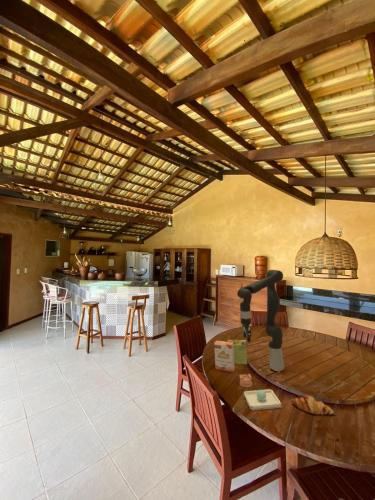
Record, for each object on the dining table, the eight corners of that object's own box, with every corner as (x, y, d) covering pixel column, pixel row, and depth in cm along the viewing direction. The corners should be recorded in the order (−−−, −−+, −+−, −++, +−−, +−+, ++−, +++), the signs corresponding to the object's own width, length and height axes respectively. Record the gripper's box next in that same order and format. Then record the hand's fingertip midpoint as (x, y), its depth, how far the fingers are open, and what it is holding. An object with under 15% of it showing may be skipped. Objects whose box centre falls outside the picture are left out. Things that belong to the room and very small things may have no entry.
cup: (250, 379, 161) (249, 372, 161) (254, 386, 153) (253, 378, 153) (238, 380, 161) (237, 373, 161) (241, 387, 153) (241, 379, 153)
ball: (264, 396, 141) (263, 387, 141) (267, 402, 136) (267, 392, 136) (255, 397, 141) (255, 388, 141) (258, 403, 135) (258, 393, 135)
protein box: (247, 364, 183) (246, 345, 184) (228, 363, 187) (226, 344, 187) (246, 358, 194) (245, 339, 194) (228, 357, 197) (227, 339, 197)
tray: (271, 392, 146) (271, 389, 146) (281, 407, 132) (281, 403, 132) (243, 395, 145) (243, 391, 145) (250, 410, 131) (250, 406, 131)
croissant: (333, 417, 127) (332, 401, 130) (334, 420, 119) (333, 402, 122) (291, 406, 137) (291, 391, 140) (290, 408, 129) (290, 392, 132)
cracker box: (215, 369, 178) (213, 342, 178) (217, 366, 183) (216, 340, 183) (233, 372, 172) (231, 345, 172) (235, 369, 177) (233, 342, 178)
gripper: (254, 319, 156) (255, 343, 155) (247, 313, 170) (249, 335, 170) (243, 320, 155) (244, 344, 155) (237, 314, 169) (239, 336, 169)
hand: (247, 339), depth 162 cm, fingers open, 8 cm apart
